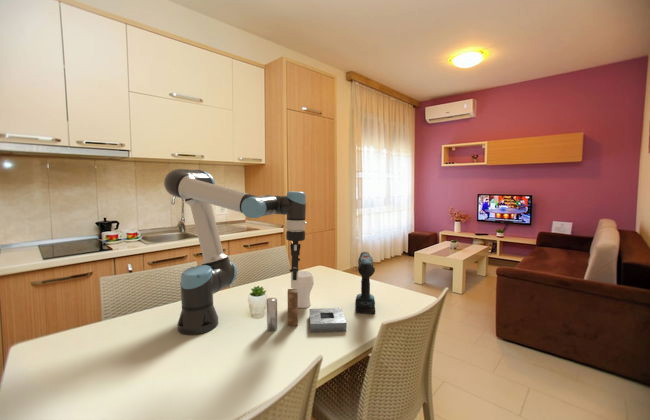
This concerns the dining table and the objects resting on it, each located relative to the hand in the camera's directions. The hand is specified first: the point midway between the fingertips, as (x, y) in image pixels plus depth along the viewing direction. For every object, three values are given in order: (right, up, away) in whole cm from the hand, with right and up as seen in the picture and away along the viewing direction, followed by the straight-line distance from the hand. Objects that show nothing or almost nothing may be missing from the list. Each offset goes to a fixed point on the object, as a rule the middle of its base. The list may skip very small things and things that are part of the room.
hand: (294, 281), depth 121 cm
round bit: (-9, -18, -3) cm, 20 cm away
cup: (+2, -16, +20) cm, 26 cm away
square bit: (-1, -18, +1) cm, 18 cm away
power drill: (+31, -16, +18) cm, 39 cm away
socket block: (+13, -18, +1) cm, 22 cm away
